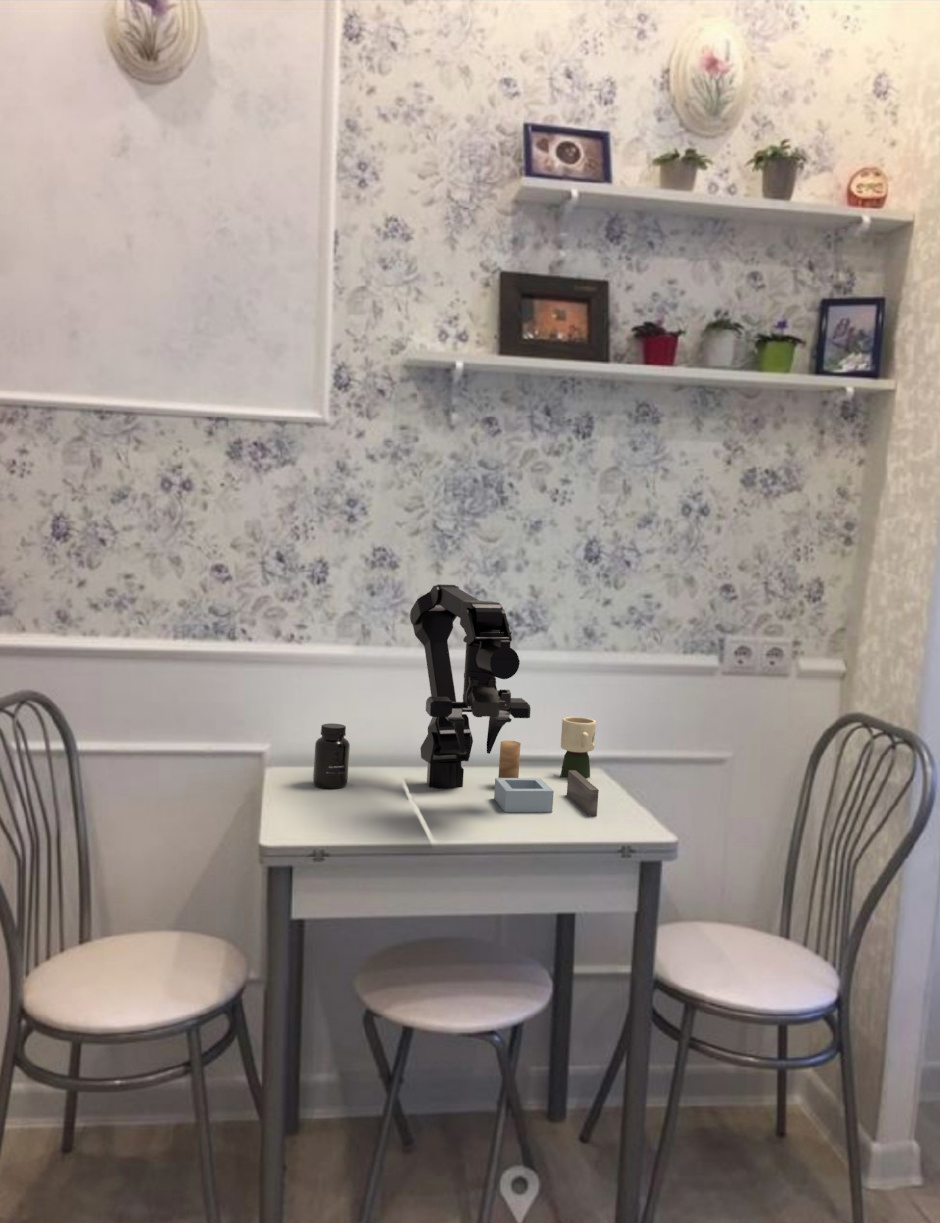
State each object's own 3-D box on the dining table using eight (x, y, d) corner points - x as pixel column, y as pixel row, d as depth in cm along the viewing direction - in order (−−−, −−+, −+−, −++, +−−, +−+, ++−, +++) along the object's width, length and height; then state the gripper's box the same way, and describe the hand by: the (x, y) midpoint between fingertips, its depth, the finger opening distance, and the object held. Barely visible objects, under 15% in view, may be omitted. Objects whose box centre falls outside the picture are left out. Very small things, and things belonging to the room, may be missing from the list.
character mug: (599, 786, 214) (604, 725, 213) (567, 787, 213) (571, 725, 211) (582, 773, 225) (586, 714, 224) (551, 773, 223) (555, 714, 222)
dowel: (500, 794, 204) (503, 745, 203) (495, 789, 208) (498, 740, 207) (519, 794, 205) (522, 745, 204) (514, 789, 209) (517, 740, 208)
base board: (501, 822, 186) (503, 789, 185) (484, 800, 199) (486, 769, 199) (596, 821, 189) (598, 789, 189) (573, 800, 203) (575, 770, 203)
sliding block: (505, 812, 188) (506, 790, 188) (494, 798, 197) (495, 777, 197) (552, 812, 190) (553, 790, 190) (539, 798, 199) (540, 778, 199)
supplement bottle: (333, 791, 200) (336, 730, 198) (305, 785, 203) (308, 725, 202) (354, 784, 206) (357, 725, 204) (327, 778, 209) (329, 720, 208)
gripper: (437, 676, 179) (432, 763, 181) (540, 678, 183) (535, 764, 185) (427, 666, 190) (423, 748, 192) (525, 668, 194) (519, 749, 196)
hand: (475, 753), depth 191 cm, fingers open, 5 cm apart
